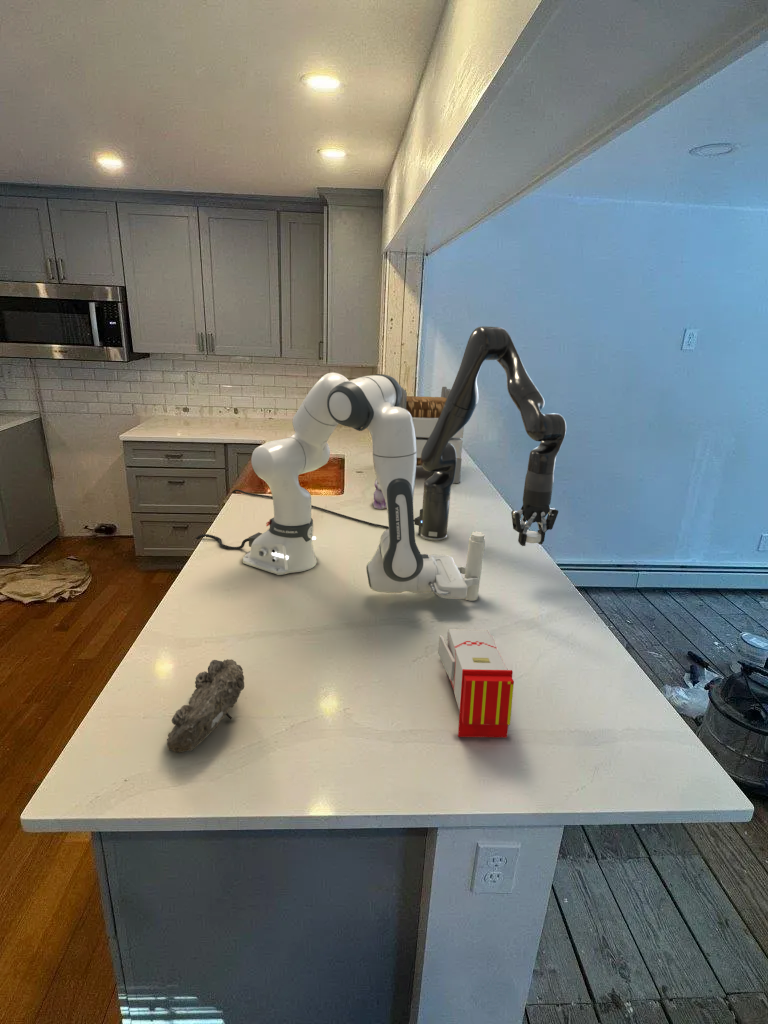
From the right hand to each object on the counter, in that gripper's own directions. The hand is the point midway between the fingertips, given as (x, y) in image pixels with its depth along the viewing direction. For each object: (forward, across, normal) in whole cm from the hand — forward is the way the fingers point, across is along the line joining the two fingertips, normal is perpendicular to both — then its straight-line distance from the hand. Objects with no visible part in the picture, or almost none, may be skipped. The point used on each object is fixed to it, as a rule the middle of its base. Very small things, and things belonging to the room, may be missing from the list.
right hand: (530, 543), depth 161 cm
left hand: (+7, +18, +2) cm, 19 cm away
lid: (-3, 0, 0) cm, 3 cm away
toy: (+14, +37, +40) cm, 56 cm away
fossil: (+14, +88, +35) cm, 96 cm away
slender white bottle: (+14, +19, +2) cm, 23 cm away
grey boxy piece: (+13, -12, -119) cm, 120 cm away
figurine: (+13, +20, -76) cm, 79 cm away
